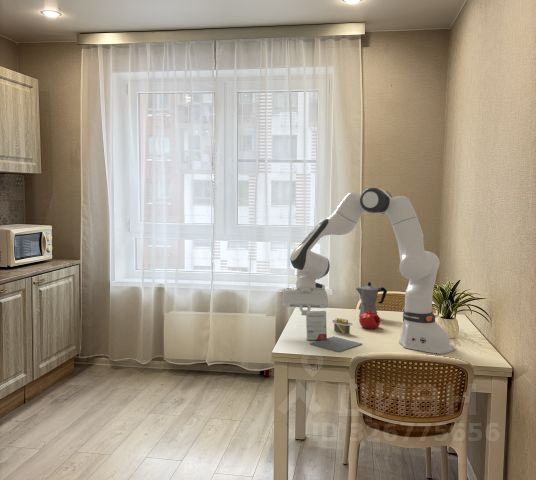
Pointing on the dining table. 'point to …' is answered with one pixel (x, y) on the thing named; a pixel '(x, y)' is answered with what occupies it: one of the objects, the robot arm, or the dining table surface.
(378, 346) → the dining table surface
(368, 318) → the pomegranate
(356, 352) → the dining table surface
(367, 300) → the coffeepot
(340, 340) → the mat
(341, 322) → the rectangular planter
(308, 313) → the ink box
